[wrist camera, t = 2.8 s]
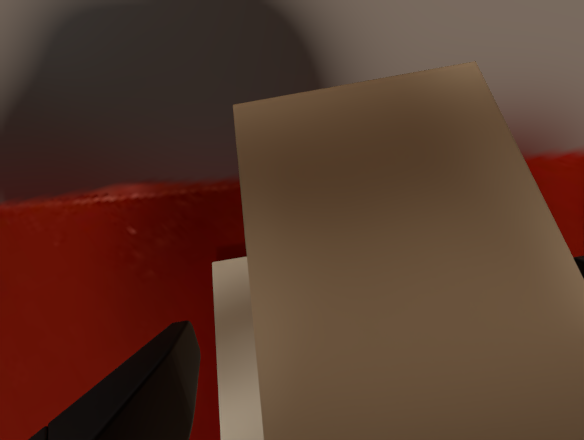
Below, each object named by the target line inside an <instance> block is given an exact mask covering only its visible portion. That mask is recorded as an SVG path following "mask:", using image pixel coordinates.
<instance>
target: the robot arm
mask: <svg viewBox="0 0 584 440" xmlns="http://www.w3.org/2000/svg"><path fill="white" fill-rule="evenodd" d="M574 260H575V262H576V265H577V267H578V269H579V271H580V273H581V275H582V277H583V279H584V256H579V257H574ZM199 366H200V349H199V345H198V342H197V339H196V336H195V332H194V329H193V326H192V324H191V322H189V321H181V322H175V323H172V324H171V325H169V326H168V327H167V328H166V329H164V330H163V331H162V332H161V333H160V334H158V335H157V336H156V337H155V338H153V339H152V340H151V341H150V342H148V343H147V344H146V345H145V346H143V347H142V348H141V349H140V350H139V351H137V352H136V353H135V354H134V355H132V356H131V357H130V358H129V359H127V360H126V361H125V362H124V363H122V364H121V365H120V366H119V367H118V368H116V369H115V370H114V371H113V372H111V373H110V374H109V375H108V376H106V377H105V378H104V379H103V380H101V381H100V382H99V383H98V384H97V385H95V386H94V387H93V388H92V389H90V390H89V391H88V392H87V393H85V394H84V395H83V396H82V397H80V398H79V399H78V400H77V401H76V402H74V403H73V404H72V405H71V406H69V407H68V408H67V409H66V410H64V411H63V412H62V413H61V414H59V415H58V416H57V417H56V418H55V419H53V420H52V421H51V422H50V423H49V424H48V427H47V426H45V427H43V428H42V429H41V430H40V431H38V432H37V433H36V434H35V435H33V436H32V437H31V438H30V439H29V440H189V437H190V433H191V428H192V423H193V418H194V411H195V402H196V393H197V384H198V375H199Z"/></svg>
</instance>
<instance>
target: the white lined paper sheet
mask: <svg viewBox="0 0 584 440" xmlns="http://www.w3.org/2000/svg"><path fill="white" fill-rule="evenodd" d="M212 274H213V294H214V314H215V334H216V354H217V374H218V394H219V414H220V434H221V440H264V435H263V424H262V413H261V403H260V392H259V381H258V371H257V360H256V349H255V338H254V328H253V317H252V306H251V296H250V285H249V274H248V263H247V257H241V258H235V259H229V260H223V261H217V262H212Z"/></svg>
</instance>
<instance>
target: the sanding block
mask: <svg viewBox="0 0 584 440" xmlns="http://www.w3.org/2000/svg"><path fill="white" fill-rule="evenodd" d="M233 113H234V124H235V134H236V145H237V156H238V166H239V178H240V188H241V199H242V210H243V220H244V231H245V242H246V253H247V263H248V274H249V285H250V296H251V306H252V317H253V328H254V338H255V349H256V360H257V371H258V381H259V392H260V403H261V413H262V424H263V435H264V440H584V279H583V277H582V275H581V273H580V271H579V269H578V267H577V265H576V262H575V260H574V258H573V256H572V254H571V252H570V250H569V248H568V246H567V244H566V242H565V240H564V238H563V236H562V234H561V232H560V230H559V228H558V226H557V224H556V222H555V220H554V218H553V216H552V214H551V212H550V210H549V208H548V206H547V204H546V202H545V200H544V198H543V196H542V194H541V192H540V190H539V188H538V186H537V184H536V182H535V180H534V178H533V176H532V174H531V172H530V170H529V168H528V166H527V164H526V162H525V160H524V158H523V156H522V154H521V152H520V150H519V148H518V146H517V144H516V142H515V140H514V138H513V136H512V134H511V132H510V130H509V128H508V126H507V124H506V122H505V120H504V118H503V116H502V114H501V112H500V110H499V108H498V106H497V104H496V102H495V100H494V98H493V96H492V93H491V92H490V89H489V88H488V86H487V83H486V81H485V79H484V77H483V75H482V73H481V72H480V70H479V67H478V65H477V63H476V62H469V63H463V64H458V65H453V66H447V67H441V68H436V69H430V70H424V71H419V72H413V73H408V74H402V75H396V76H391V77H386V78H380V79H374V80H368V81H363V82H357V83H352V84H346V85H341V86H335V87H329V88H324V89H318V90H313V91H308V92H302V93H296V94H290V95H285V96H279V97H274V98H268V99H262V100H257V101H251V102H246V103H240V104H235V105H233Z"/></svg>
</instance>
